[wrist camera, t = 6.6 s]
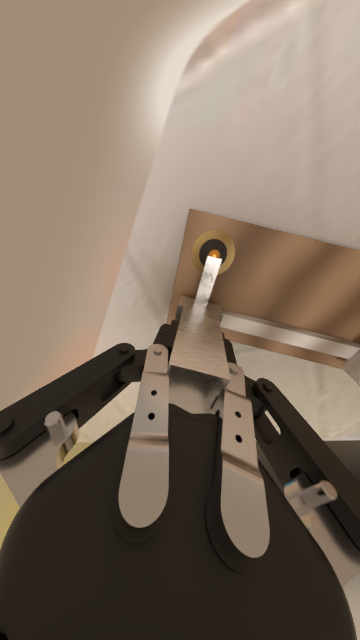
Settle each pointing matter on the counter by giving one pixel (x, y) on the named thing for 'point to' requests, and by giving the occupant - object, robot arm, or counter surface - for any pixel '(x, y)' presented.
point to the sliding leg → (199, 347)
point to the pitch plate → (276, 289)
